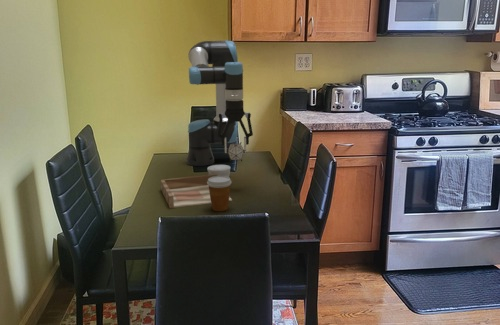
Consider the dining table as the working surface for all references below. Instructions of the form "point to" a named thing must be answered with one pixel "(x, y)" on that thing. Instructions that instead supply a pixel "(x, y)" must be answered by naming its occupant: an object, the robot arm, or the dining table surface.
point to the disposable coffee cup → (219, 192)
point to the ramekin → (219, 170)
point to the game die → (235, 151)
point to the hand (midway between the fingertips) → (235, 152)
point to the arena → (187, 191)
